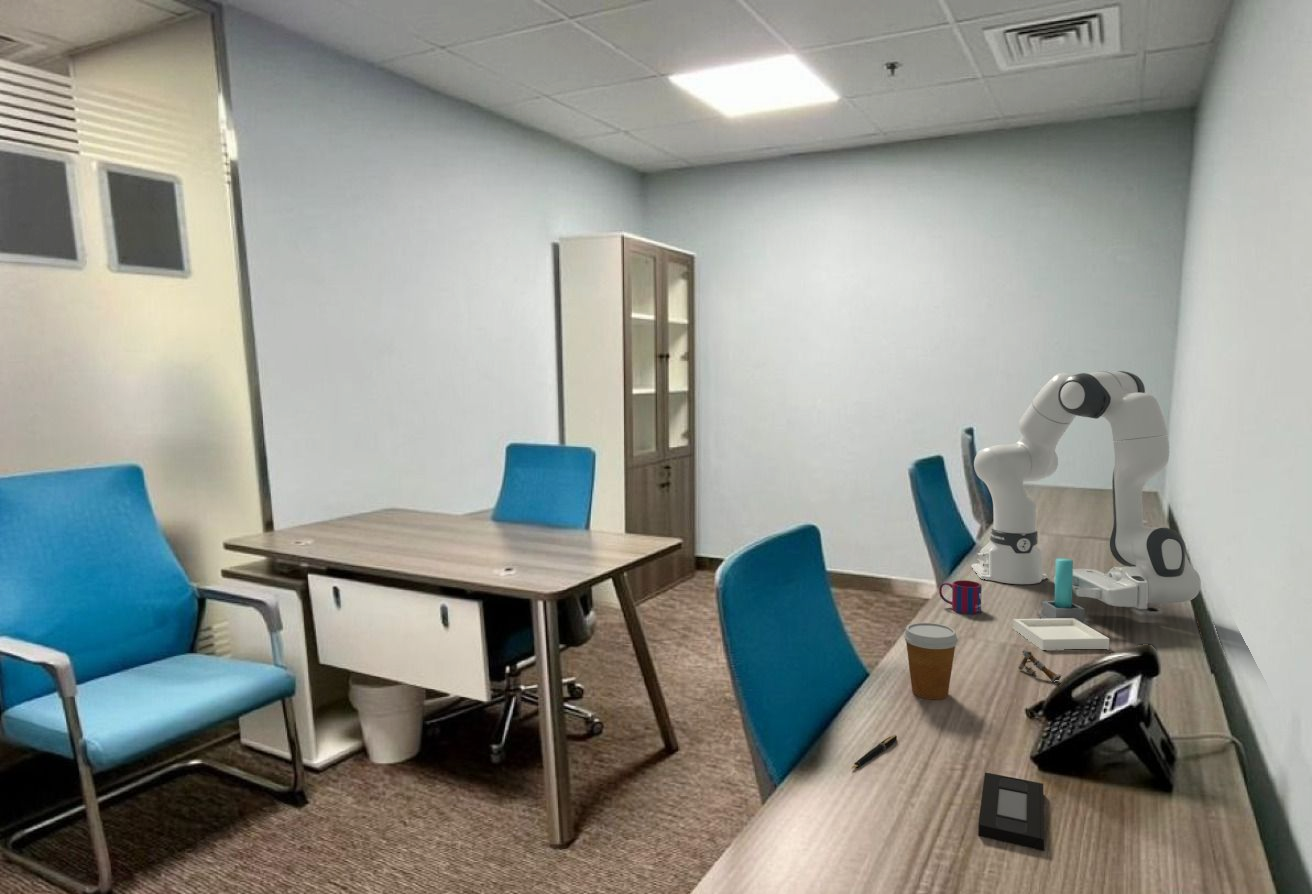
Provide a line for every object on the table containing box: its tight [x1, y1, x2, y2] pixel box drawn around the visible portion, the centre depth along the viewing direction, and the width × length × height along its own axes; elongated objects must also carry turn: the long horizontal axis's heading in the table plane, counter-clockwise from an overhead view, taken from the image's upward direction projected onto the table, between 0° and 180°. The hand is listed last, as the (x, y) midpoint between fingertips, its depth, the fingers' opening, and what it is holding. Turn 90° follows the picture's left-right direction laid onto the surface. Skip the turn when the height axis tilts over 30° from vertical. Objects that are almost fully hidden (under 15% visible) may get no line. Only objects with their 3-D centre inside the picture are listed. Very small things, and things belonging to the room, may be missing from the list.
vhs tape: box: [977, 772, 1045, 852], centre depth 102 cm, size 8×14×2 cm, turn 154°
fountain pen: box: [850, 734, 898, 769], centre depth 118 cm, size 14×1×2 cm, turn 135°
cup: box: [938, 579, 983, 615], centre depth 191 cm, size 7×10×7 cm
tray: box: [1012, 618, 1110, 651], centre depth 168 cm, size 14×14×2 cm
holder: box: [1037, 600, 1090, 627], centre depth 180 cm, size 8×8×4 cm
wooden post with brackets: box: [1018, 649, 1062, 683], centre depth 148 cm, size 2×8×4 cm, turn 30°
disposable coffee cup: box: [903, 622, 959, 700], centre depth 141 cm, size 10×10×12 cm
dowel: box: [1054, 558, 1074, 608], centre depth 180 cm, size 4×4×14 cm
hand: (1065, 586), depth 180 cm, fingers open, 8 cm apart
